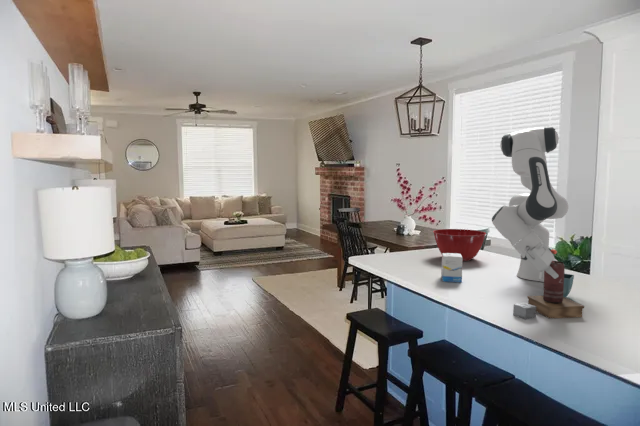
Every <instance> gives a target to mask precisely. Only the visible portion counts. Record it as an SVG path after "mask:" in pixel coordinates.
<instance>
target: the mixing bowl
mask: <svg viewBox="0 0 640 426" xmlns="http://www.w3.org/2000/svg"><path fill="white" fill-rule="evenodd" d="M432 233H433V234H434V240H435V243H436V246H437V249H438V250H439V252H440V254H441V255H442V253H458V254H461V255H462V257H463V262H465V261H470V260H472V259H474V258H475V257H476V256H477V255H478V253H479V252H480V250H481V248H482V246H483V244H484V240H485V237H486V234H487V233H486V232H485V231H481V230H476V229H465V228H464V229H463V228H462V229H461V228H459V229H458V228H443V229H436V230H433V231H432Z"/></svg>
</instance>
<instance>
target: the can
mask: <svg viewBox="0 0 640 426" xmlns="http://www.w3.org/2000/svg"><path fill="white" fill-rule="evenodd" d="M550 266H551V267H552V269H553V270H554V271H555V272H556V273H557V274H558V275H559V277H557V278H556V279H554V278H553V277H552V276H551V275H550V274H548V273H547V272H546V271H545V270H544V282H543V295H542V296H543V299H544V301H546V302H549V303H556V304H558V303H562V302H563V291H564V269H565V264H564V262H562V261H558V260H557V261H552V262H551V264H550Z"/></svg>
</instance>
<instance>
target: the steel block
mask: <svg viewBox="0 0 640 426" xmlns="http://www.w3.org/2000/svg"><path fill="white" fill-rule="evenodd" d="M536 307H537V306H534V305H531V304H528V303H527V302H524V301H522V302H518V303H513V309H512V311H513V312H512V315H513V316H515V317H517V318H521V319H523V320H525V321H526V320H530V319H531V320H532V319H535V318H537V312H536Z"/></svg>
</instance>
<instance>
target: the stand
mask: <svg viewBox="0 0 640 426" xmlns="http://www.w3.org/2000/svg"><path fill="white" fill-rule="evenodd" d="M527 299H528V304H531V305H534V306H537V307H536V313H538V314H540V315H542V316H544V317H545V318H548V319H568V318H569V319H570V318H583V309H585V305H582V304H581V303H578V302H576V301H573V300H572V299H569V298H568V297H566V298H565V297H563V302H562V303H558V304H556V303H549V302H546V301H544V299H543V295H528V296H527Z"/></svg>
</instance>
